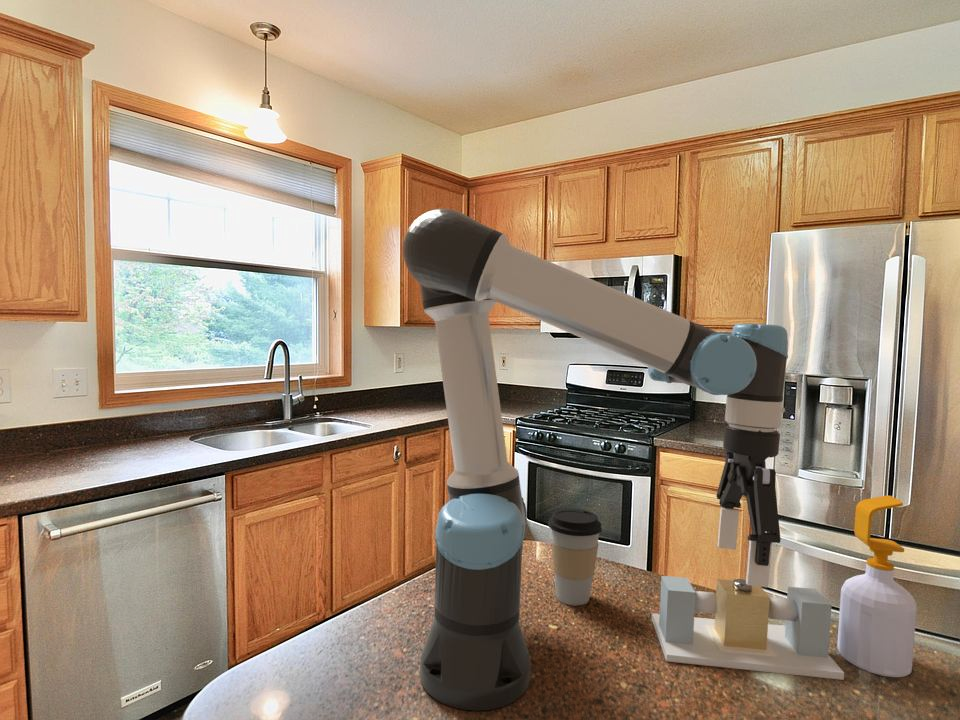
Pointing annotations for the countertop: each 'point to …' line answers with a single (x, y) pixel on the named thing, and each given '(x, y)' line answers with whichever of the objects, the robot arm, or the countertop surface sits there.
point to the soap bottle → (877, 605)
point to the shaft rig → (787, 648)
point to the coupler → (741, 614)
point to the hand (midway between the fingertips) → (740, 565)
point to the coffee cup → (574, 553)
